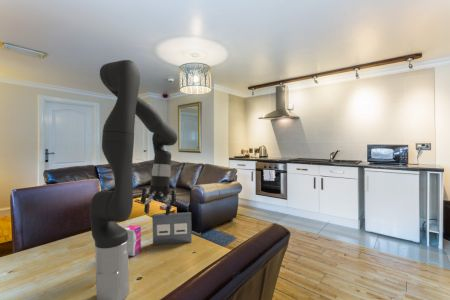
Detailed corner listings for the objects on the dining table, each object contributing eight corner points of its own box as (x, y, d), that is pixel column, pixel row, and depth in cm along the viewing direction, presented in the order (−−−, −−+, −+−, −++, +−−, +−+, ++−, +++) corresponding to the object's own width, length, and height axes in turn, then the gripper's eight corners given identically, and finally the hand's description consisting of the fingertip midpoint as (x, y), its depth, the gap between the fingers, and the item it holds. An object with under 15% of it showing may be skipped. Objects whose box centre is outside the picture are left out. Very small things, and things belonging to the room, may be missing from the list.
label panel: (191, 242, 109) (191, 213, 108) (152, 245, 106) (152, 215, 106) (191, 240, 111) (191, 212, 111) (153, 243, 109) (153, 214, 108)
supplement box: (133, 257, 95) (133, 230, 95) (121, 256, 97) (120, 229, 96) (141, 250, 101) (141, 225, 101) (129, 249, 102) (129, 224, 102)
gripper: (141, 174, 93) (136, 214, 91) (175, 176, 92) (171, 217, 90) (148, 174, 100) (144, 212, 98) (179, 176, 99) (176, 214, 97)
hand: (157, 214), depth 94 cm, fingers open, 8 cm apart
